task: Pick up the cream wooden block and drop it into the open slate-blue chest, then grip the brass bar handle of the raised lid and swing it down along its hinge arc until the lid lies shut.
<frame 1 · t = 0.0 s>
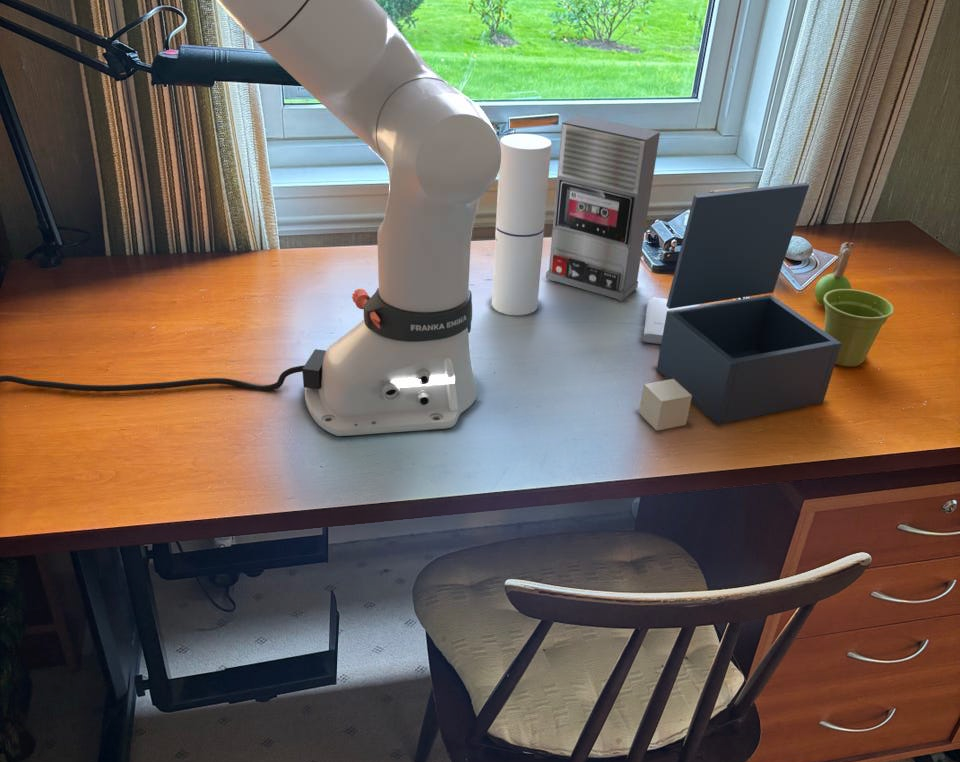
chest: (738, 385, 125), on the table
lid: (727, 239, 121), point 18 cm above the table, hinge at 84.0°
plant pot: (841, 358, 133), on the table
block: (662, 419, 118), on the table
cassette tape recorder: (590, 286, 150), on the table
cylindrical container: (514, 306, 142), on the table
green maraca: (827, 308, 146), on the table
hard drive: (671, 327, 139), on the table
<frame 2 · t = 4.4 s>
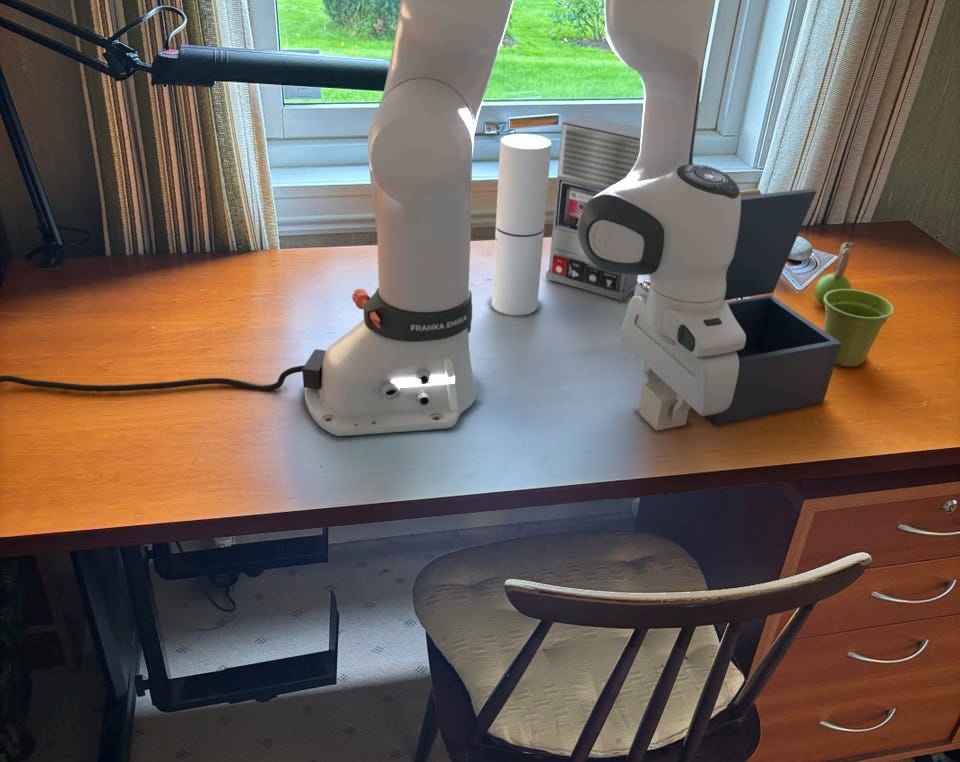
hand: (664, 407, 117), 2 cm above the table, tool pointing down, fingers closed on block, 4 cm apart
lid: (730, 241, 120), point 18 cm above the table, hinge at 78.3°, touching arm
block: (662, 418, 118), on the table, touching gripper
everything else where it was.
when the fingers open (9 cm above the table, at t = 13.5 s): block drops 6 cm, resting on chest.
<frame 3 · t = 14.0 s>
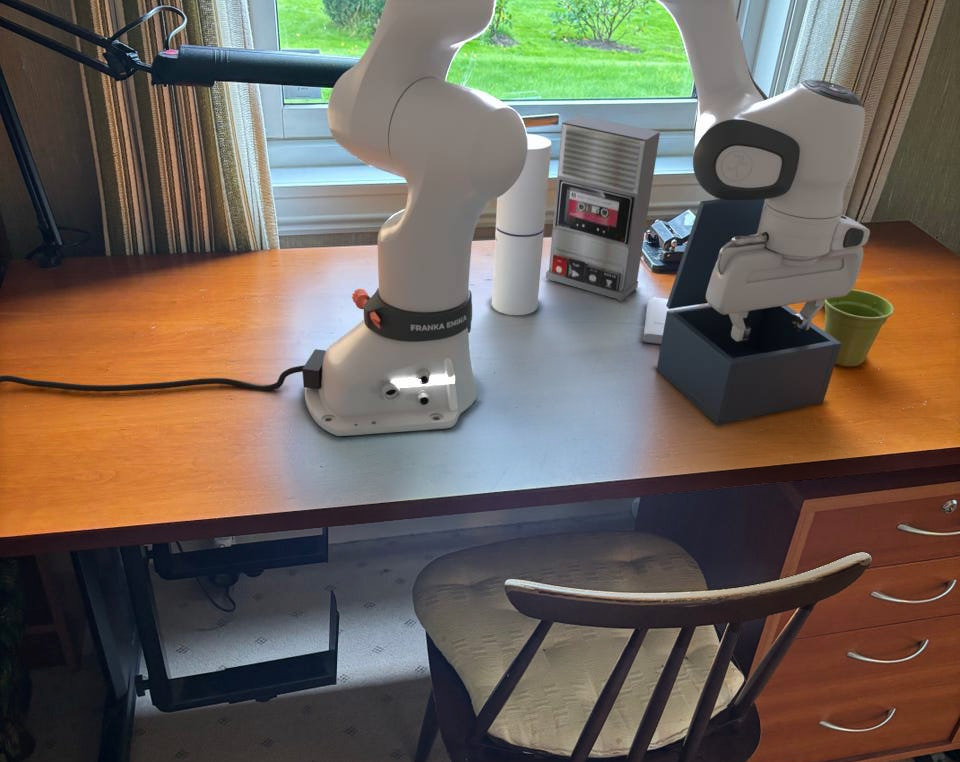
hand: (769, 333, 117), 10 cm above the table, tool pointing down, fingers open, 8 cm apart
lid: (730, 241, 120), point 18 cm above the table, hinge at 78.2°
block: (753, 391, 122), point 1 cm above the table, touching chest
everything else where it was.
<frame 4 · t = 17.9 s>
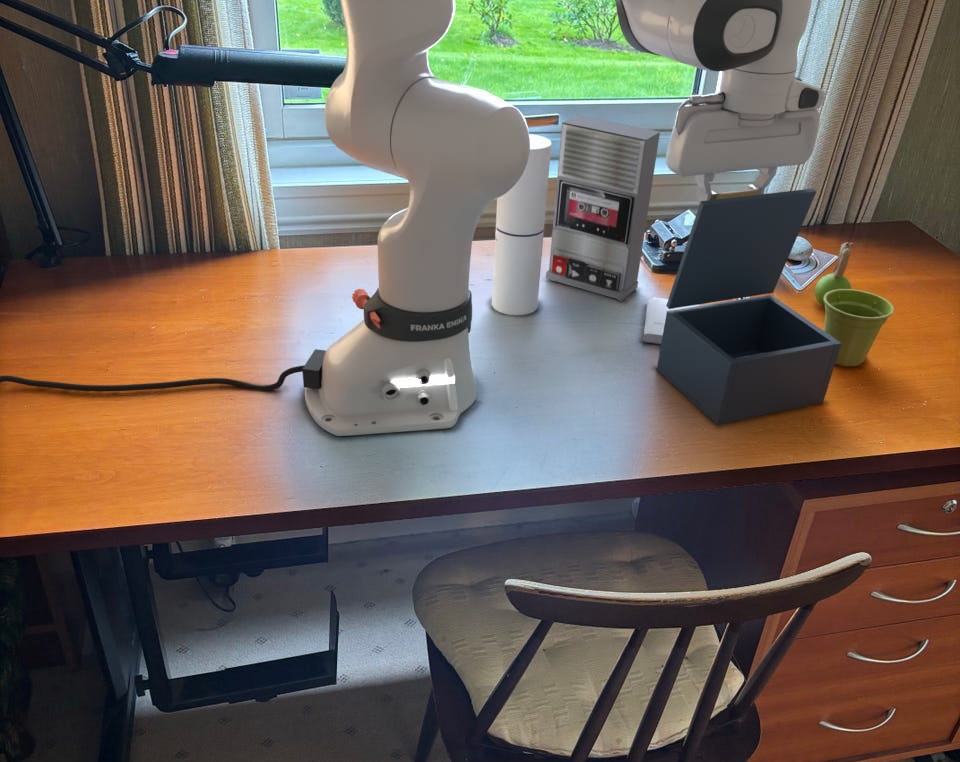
hand: (730, 202, 119), 22 cm above the table, tool pointing down, fingers closed on lid, 6 cm apart
lid: (730, 241, 120), point 18 cm above the table, hinge at 78.2°, touching gripper
everything else where it was.
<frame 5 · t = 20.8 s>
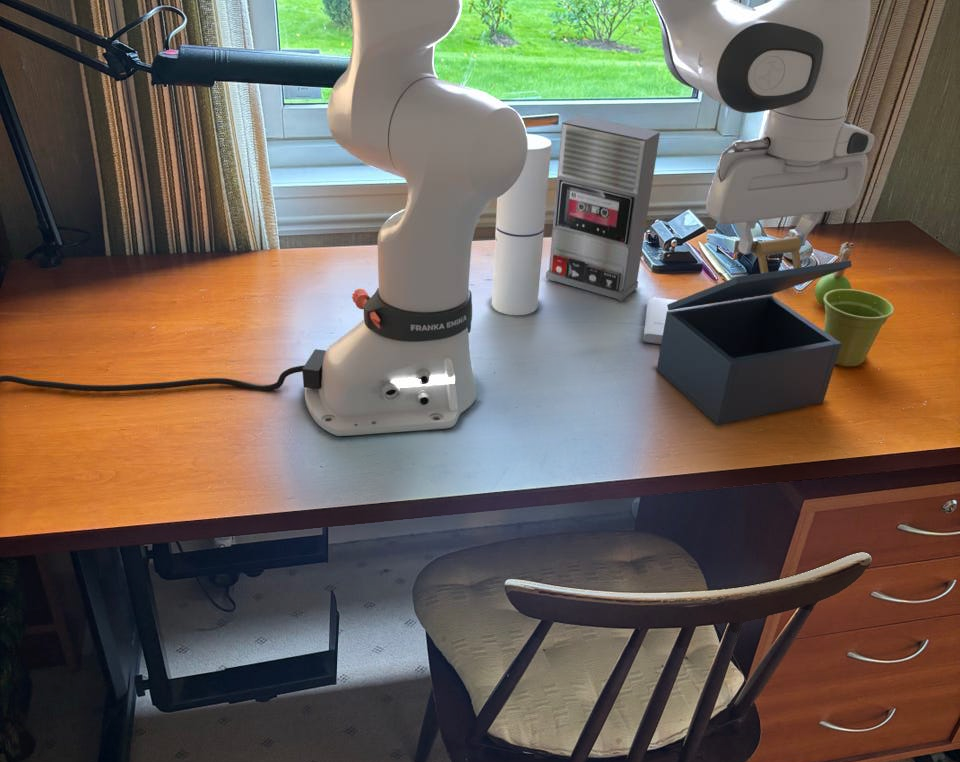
hand: (771, 248, 113), 20 cm above the table, tool pointing down, fingers closed on lid, 6 cm apart
lid: (752, 270, 117), point 16 cm above the table, hinge at 36.8°, touching gripper
everything else where it was.
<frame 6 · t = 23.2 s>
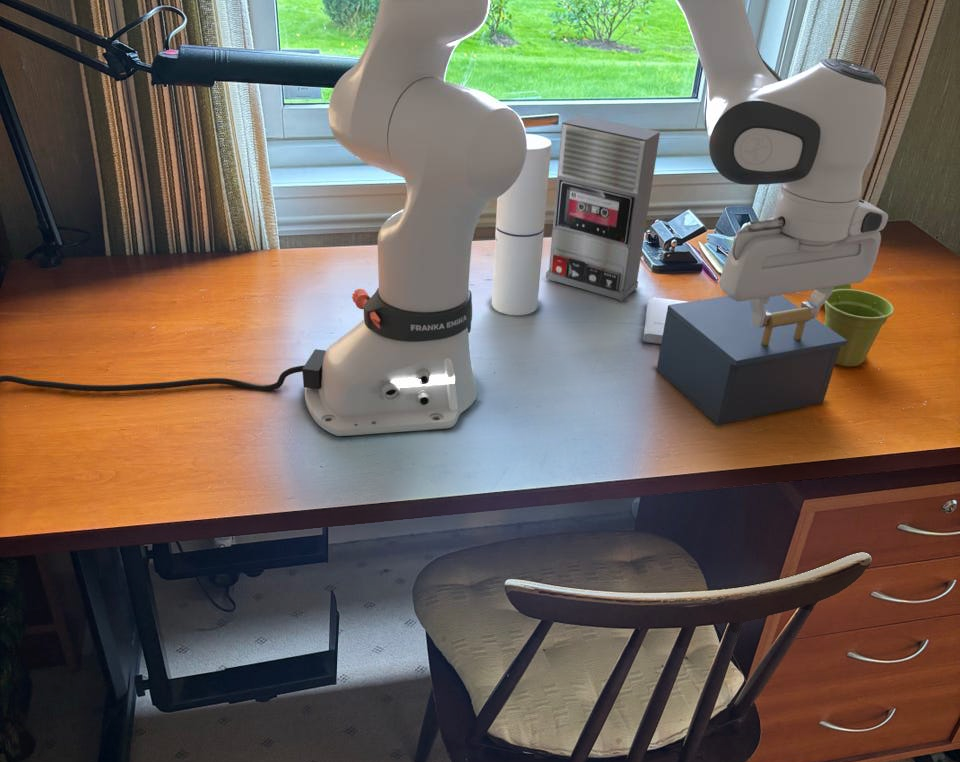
hand: (783, 321, 114), 12 cm above the table, tool pointing down, fingers closed on lid, 6 cm apart
lid: (758, 310, 118), point 12 cm above the table, hinge at -0.2°, touching chest, gripper
everything else where it was.
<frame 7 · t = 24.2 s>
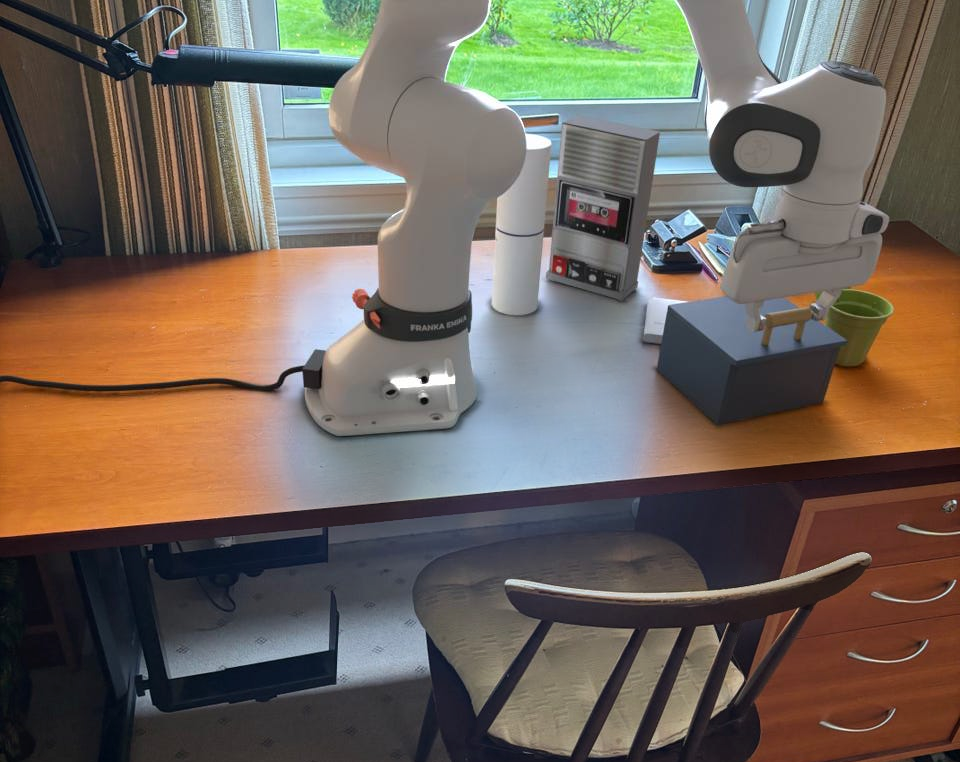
hand: (785, 324, 114), 12 cm above the table, tool pointing down, fingers open, 8 cm apart
lid: (758, 310, 118), point 12 cm above the table, hinge at -0.2°
everything else where it was.
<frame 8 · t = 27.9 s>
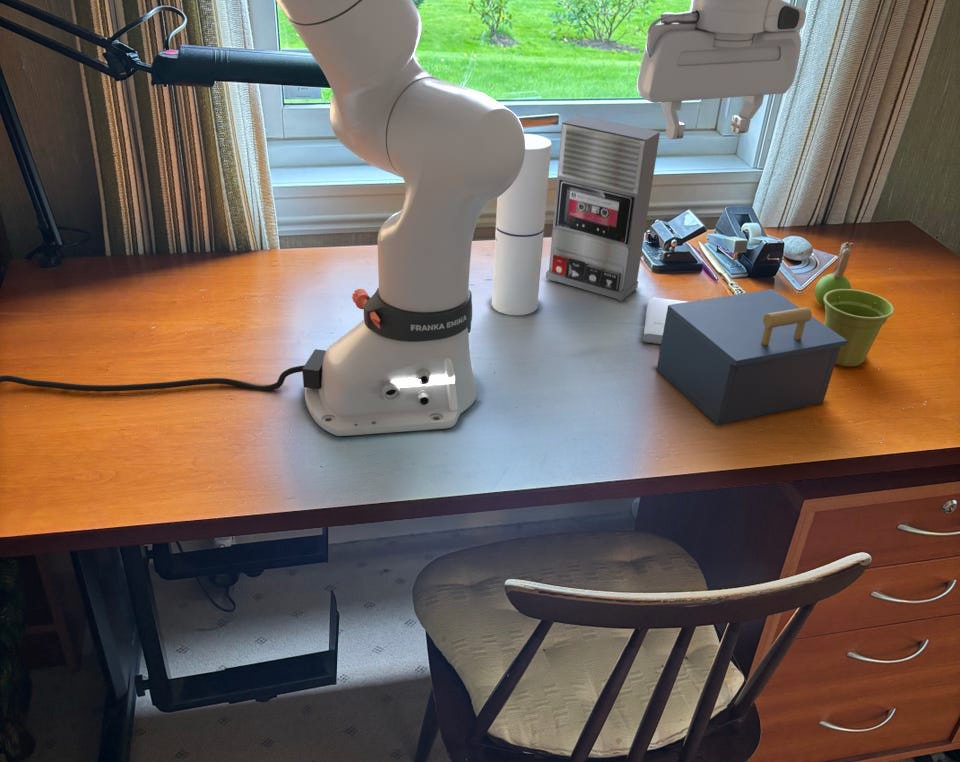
hand: (706, 135, 112), 31 cm above the table, tool pointing down, fingers open, 8 cm apart
nothing on the table moved.
at the end: block inside the target area in the chest (3.4 cm from its centre), point 1.0 cm above the chest's base; lid at +0° (first picture: +84°) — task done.
